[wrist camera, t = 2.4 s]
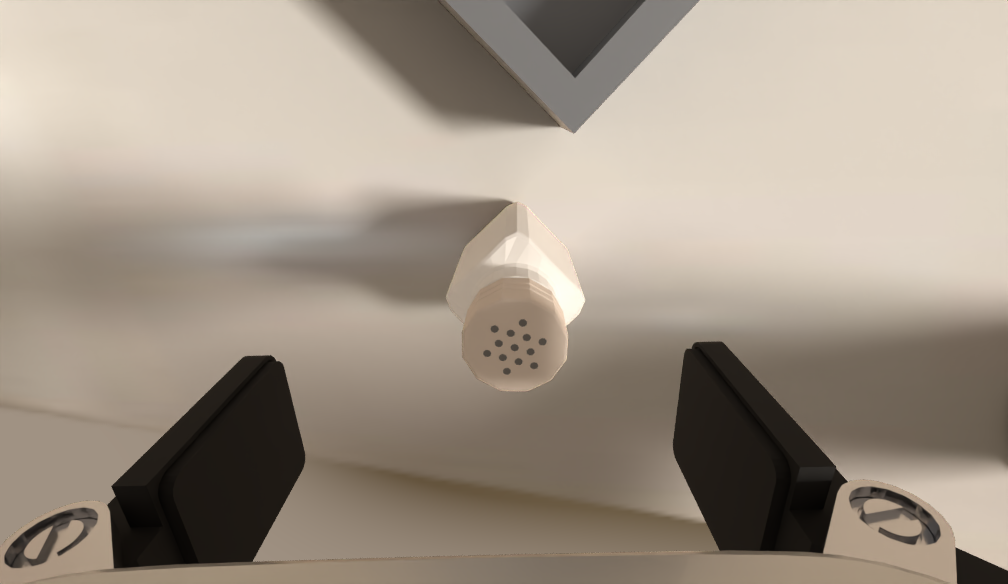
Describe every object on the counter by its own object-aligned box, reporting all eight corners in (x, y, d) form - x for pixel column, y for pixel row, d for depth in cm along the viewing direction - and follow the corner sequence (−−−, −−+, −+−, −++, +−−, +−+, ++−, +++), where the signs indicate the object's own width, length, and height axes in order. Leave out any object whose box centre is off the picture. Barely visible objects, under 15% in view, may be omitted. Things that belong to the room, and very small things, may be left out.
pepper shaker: (457, 251, 23) (419, 345, 14) (517, 193, 22) (516, 255, 13) (514, 306, 24) (512, 426, 15) (574, 254, 23) (611, 350, 14)
